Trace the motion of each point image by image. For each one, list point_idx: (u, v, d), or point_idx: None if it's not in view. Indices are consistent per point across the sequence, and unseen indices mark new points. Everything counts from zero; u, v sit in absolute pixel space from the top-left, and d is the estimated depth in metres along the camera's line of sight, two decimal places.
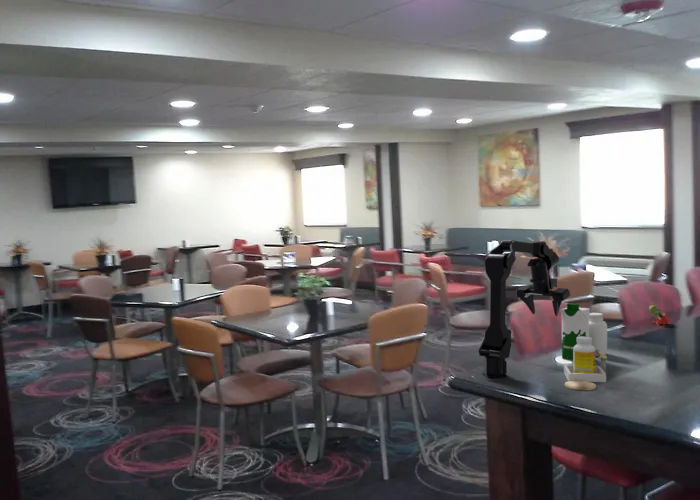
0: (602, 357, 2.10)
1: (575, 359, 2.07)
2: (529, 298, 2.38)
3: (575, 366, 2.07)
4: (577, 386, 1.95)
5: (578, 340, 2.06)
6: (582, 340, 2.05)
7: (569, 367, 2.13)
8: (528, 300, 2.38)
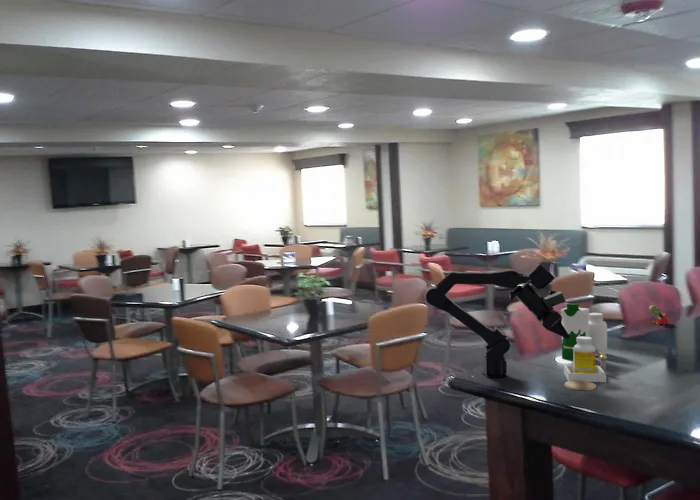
0: (602, 357, 2.10)
1: (575, 359, 2.07)
2: None
3: (575, 366, 2.07)
4: (577, 386, 1.95)
5: (578, 340, 2.06)
6: (582, 340, 2.05)
7: (569, 367, 2.13)
8: None
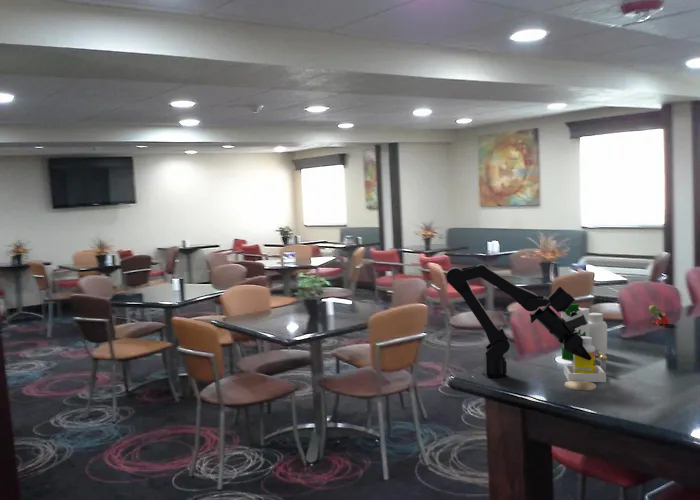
0: (602, 357, 2.10)
1: (575, 359, 2.07)
2: None
3: (575, 366, 2.07)
4: (577, 386, 1.95)
5: None
6: None
7: (569, 367, 2.13)
8: None
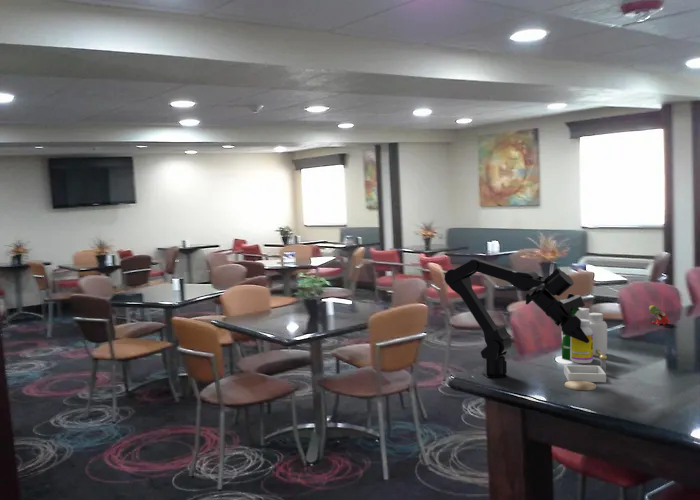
0: (602, 357, 2.10)
1: (572, 342, 2.00)
2: None
3: (572, 350, 2.00)
4: (577, 386, 1.95)
5: None
6: None
7: (569, 367, 2.13)
8: None
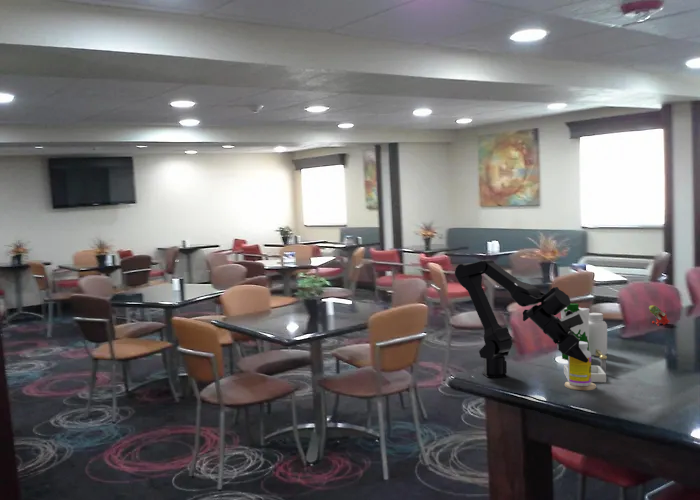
0: (602, 357, 2.10)
1: (570, 365, 1.96)
2: None
3: (570, 372, 1.97)
4: (577, 386, 1.95)
5: None
6: None
7: None
8: None
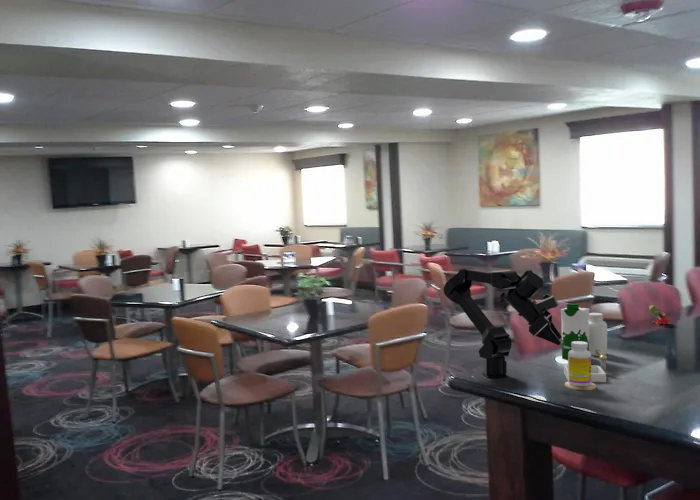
0: (602, 357, 2.10)
1: (570, 365, 1.96)
2: None
3: (570, 372, 1.96)
4: (577, 386, 1.95)
5: (573, 345, 1.96)
6: (577, 345, 1.95)
7: None
8: None
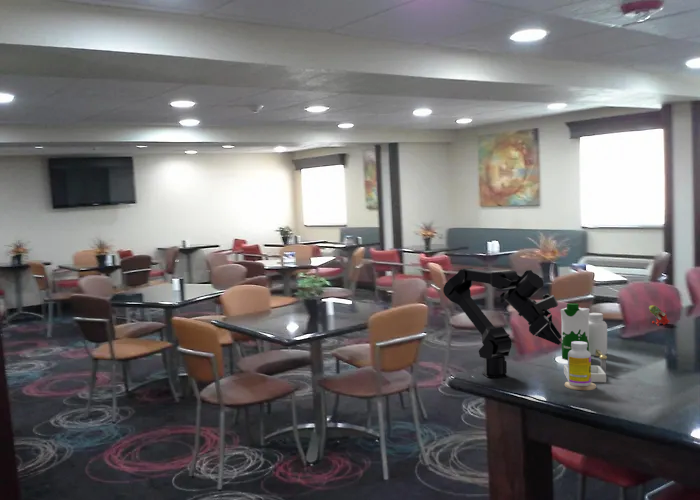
0: (602, 357, 2.10)
1: (570, 365, 1.96)
2: None
3: (570, 372, 1.96)
4: (577, 386, 1.95)
5: (573, 345, 1.96)
6: (577, 345, 1.95)
7: None
8: None
